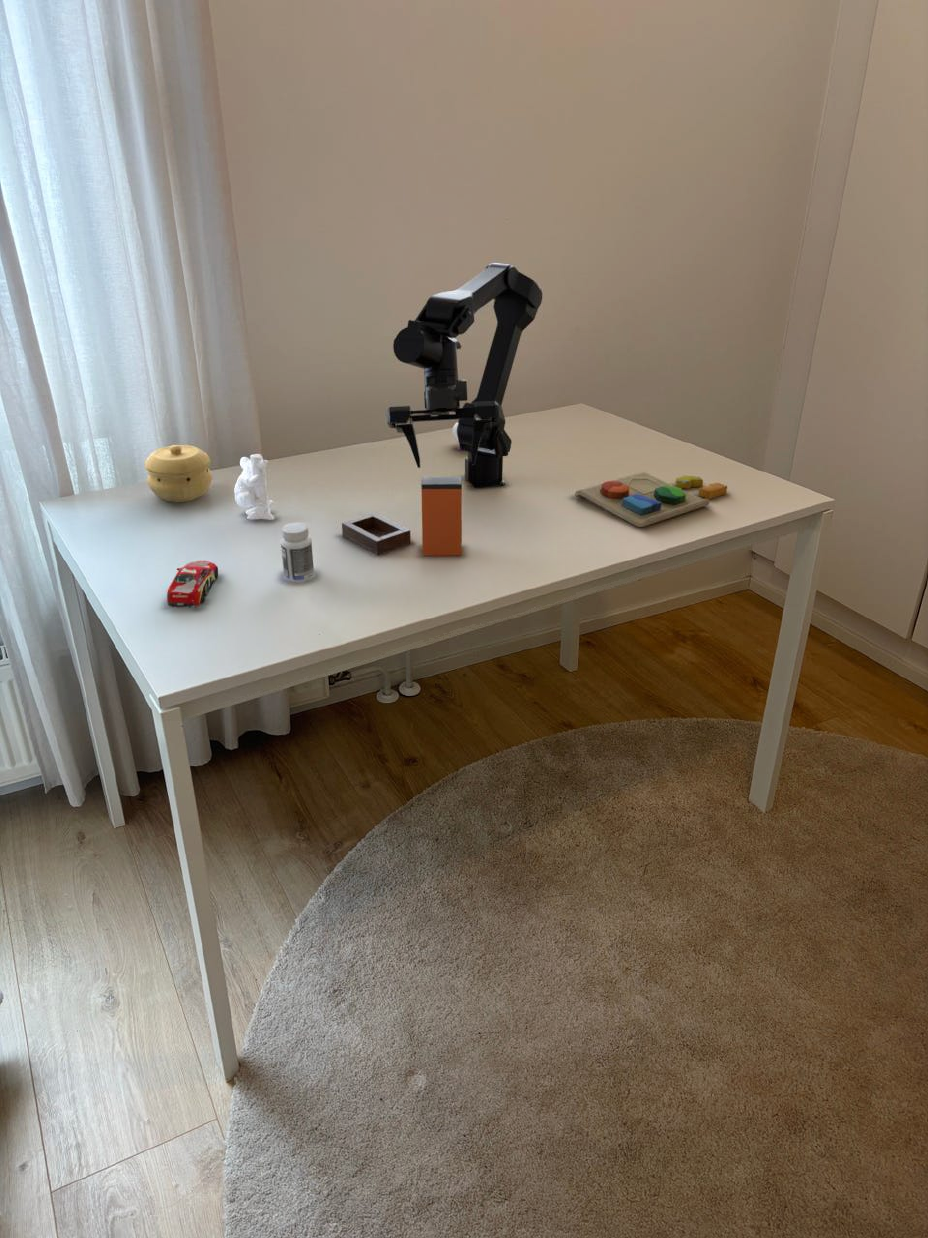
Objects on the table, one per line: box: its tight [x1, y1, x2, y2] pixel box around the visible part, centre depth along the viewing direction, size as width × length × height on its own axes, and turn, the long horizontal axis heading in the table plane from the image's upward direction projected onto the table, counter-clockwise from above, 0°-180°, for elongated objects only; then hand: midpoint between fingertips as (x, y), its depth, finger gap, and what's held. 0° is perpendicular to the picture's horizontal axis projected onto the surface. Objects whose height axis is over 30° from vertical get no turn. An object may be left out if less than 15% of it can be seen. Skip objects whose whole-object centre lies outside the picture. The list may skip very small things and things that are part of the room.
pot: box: [144, 444, 213, 503], centre depth 177 cm, size 12×12×10 cm
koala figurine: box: [233, 453, 275, 521], centre depth 169 cm, size 8×7×12 cm
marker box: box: [420, 476, 463, 557], centre depth 156 cm, size 3×6×12 cm, turn 92°
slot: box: [341, 512, 412, 556], centre depth 162 cm, size 7×10×2 cm
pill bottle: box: [280, 522, 315, 583], centre depth 149 cm, size 5×5×8 cm
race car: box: [166, 560, 219, 608], centre depth 145 cm, size 13×5×4 cm, turn 177°
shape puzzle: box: [574, 471, 728, 528], centre depth 179 cm, size 25×19×3 cm
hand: (446, 466), depth 162 cm, fingers open, 9 cm apart
